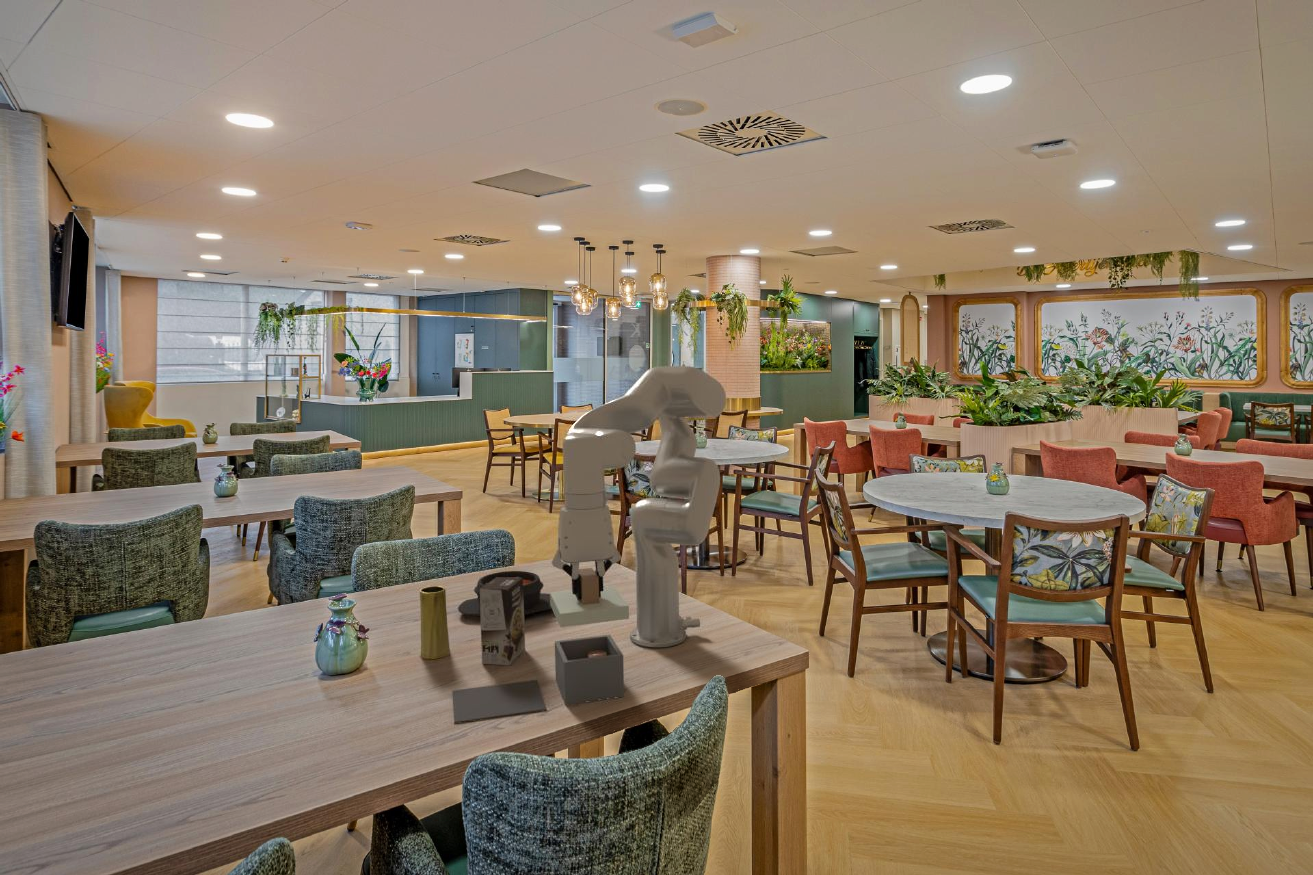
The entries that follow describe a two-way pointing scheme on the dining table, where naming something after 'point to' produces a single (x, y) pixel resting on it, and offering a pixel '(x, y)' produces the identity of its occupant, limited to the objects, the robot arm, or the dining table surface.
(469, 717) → the mat
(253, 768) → the dining table surface
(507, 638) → the coffee box
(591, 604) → the lid
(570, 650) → the storage box
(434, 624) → the vase
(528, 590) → the casserole
